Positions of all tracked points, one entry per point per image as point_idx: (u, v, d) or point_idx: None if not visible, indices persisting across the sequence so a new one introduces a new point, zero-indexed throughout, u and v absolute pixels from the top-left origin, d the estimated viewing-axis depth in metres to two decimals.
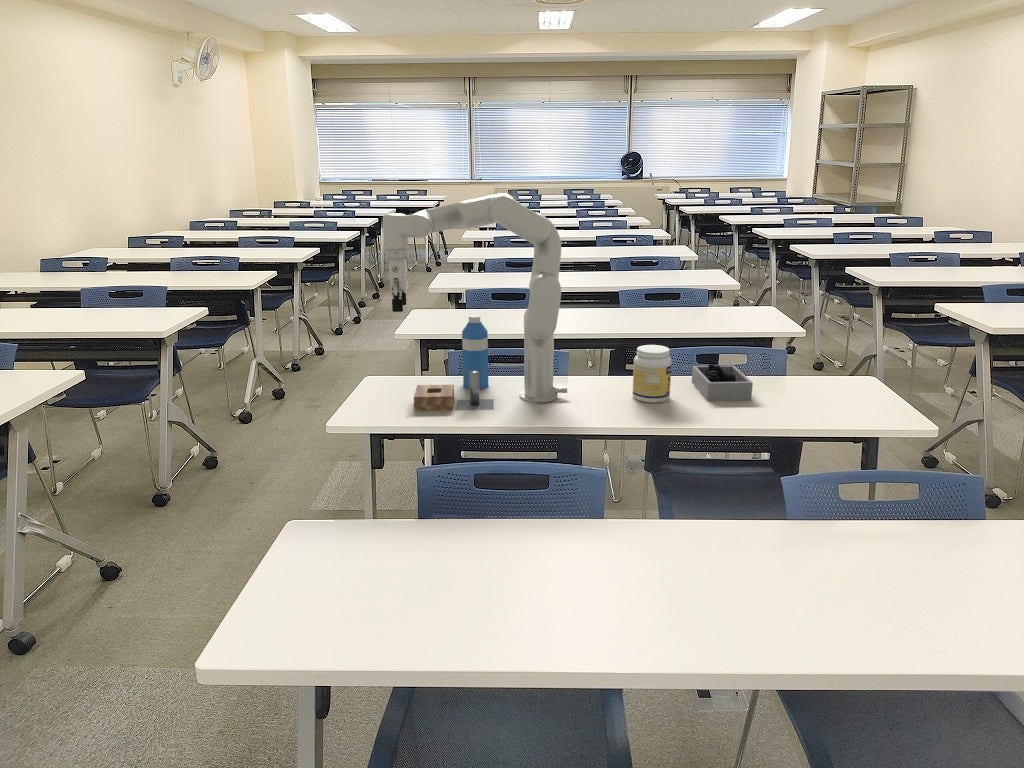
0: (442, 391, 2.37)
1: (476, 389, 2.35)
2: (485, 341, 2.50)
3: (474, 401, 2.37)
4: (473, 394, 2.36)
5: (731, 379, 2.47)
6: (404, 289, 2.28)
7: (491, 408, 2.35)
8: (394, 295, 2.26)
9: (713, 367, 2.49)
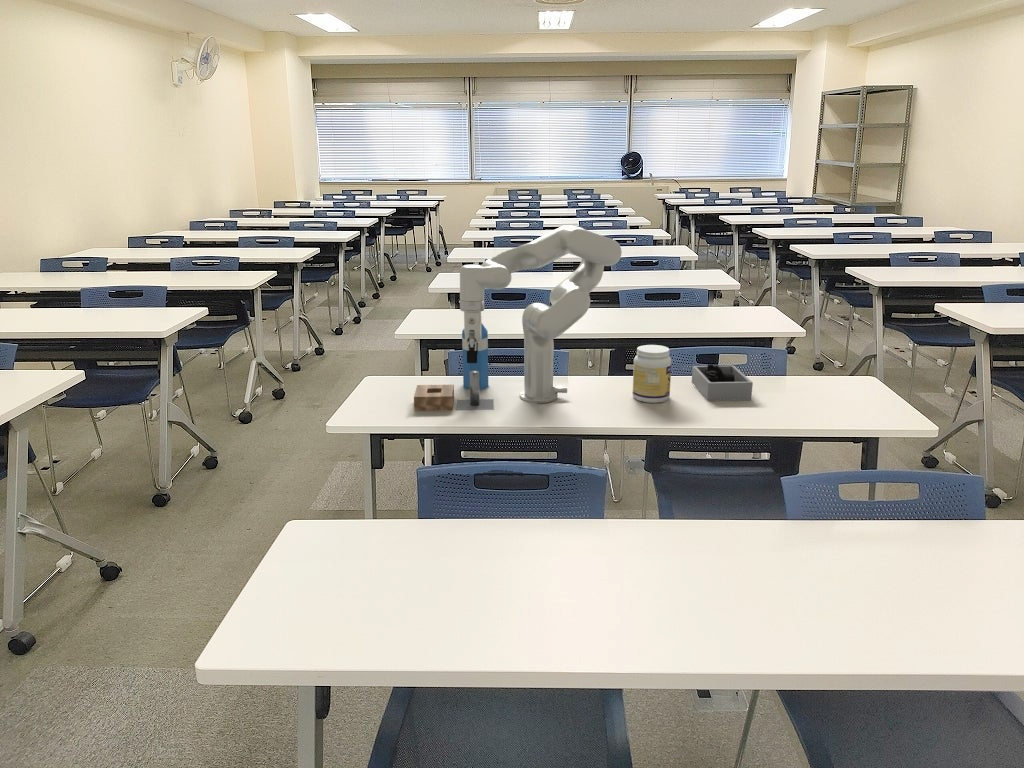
0: (442, 391, 2.37)
1: (476, 389, 2.35)
2: (485, 341, 2.50)
3: (474, 401, 2.37)
4: (473, 394, 2.36)
5: (730, 379, 2.47)
6: (480, 341, 2.27)
7: (491, 408, 2.35)
8: (470, 347, 2.25)
9: (712, 367, 2.49)
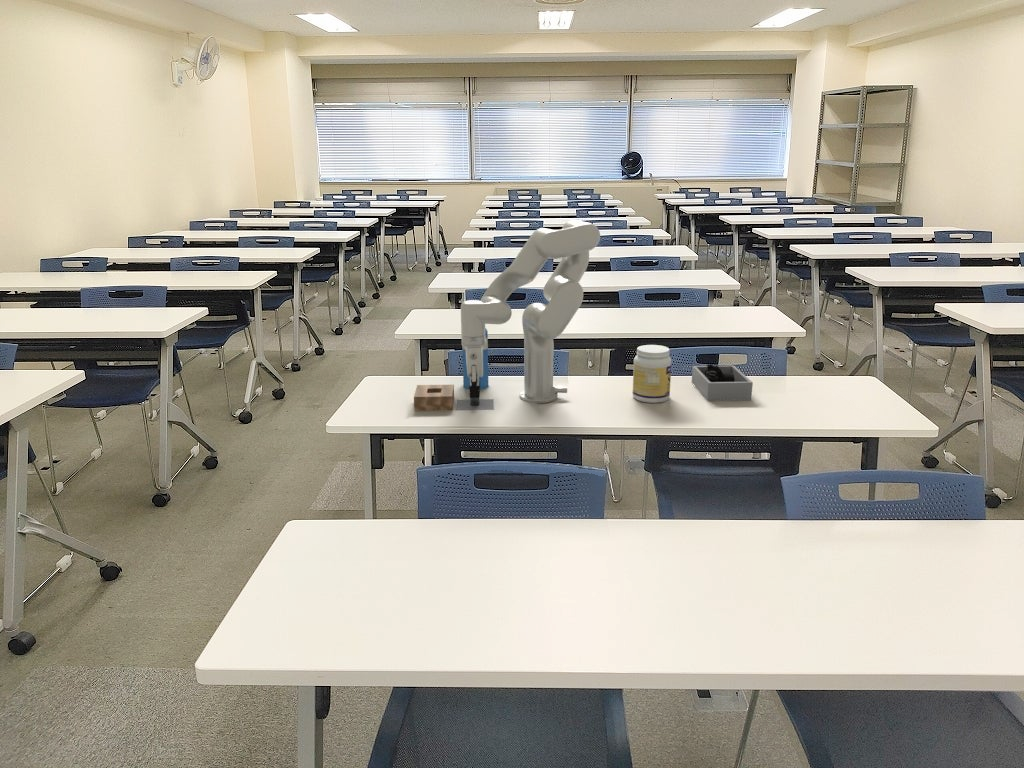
0: (442, 391, 2.37)
1: None
2: None
3: (474, 401, 2.37)
4: None
5: (730, 379, 2.47)
6: (481, 375, 2.31)
7: (491, 408, 2.35)
8: (472, 383, 2.32)
9: (712, 367, 2.49)
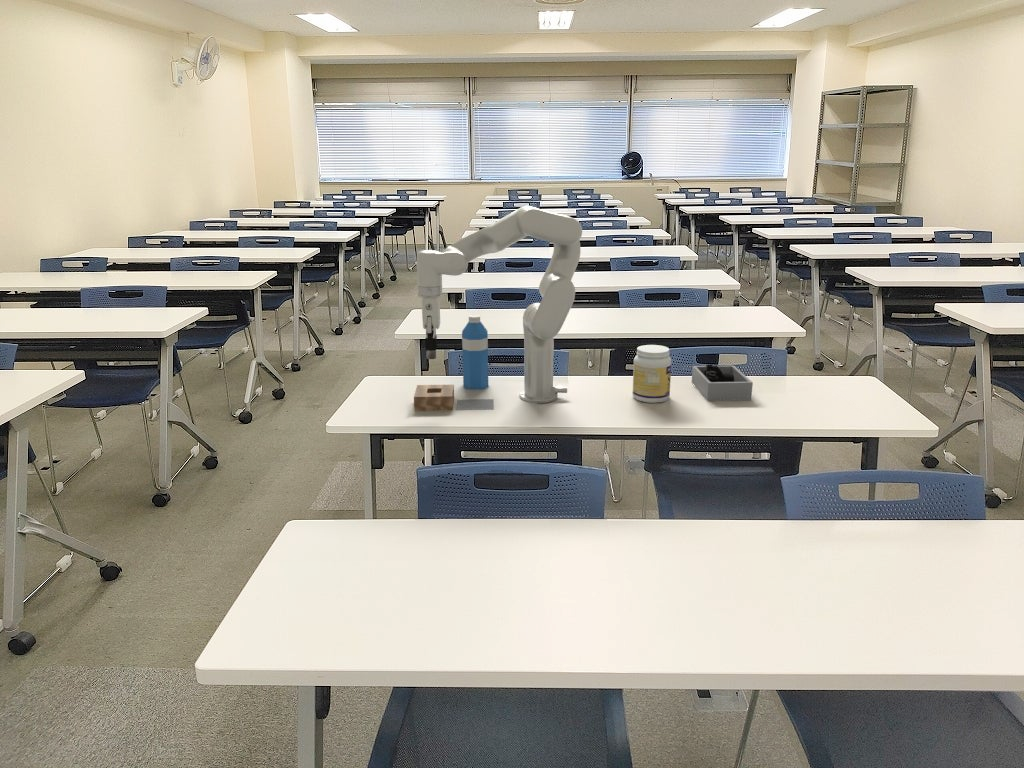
0: (442, 391, 2.37)
1: None
2: (485, 341, 2.50)
3: (430, 354, 2.32)
4: None
5: (730, 379, 2.47)
6: (437, 327, 2.26)
7: (491, 408, 2.35)
8: (428, 334, 2.27)
9: (711, 367, 2.48)
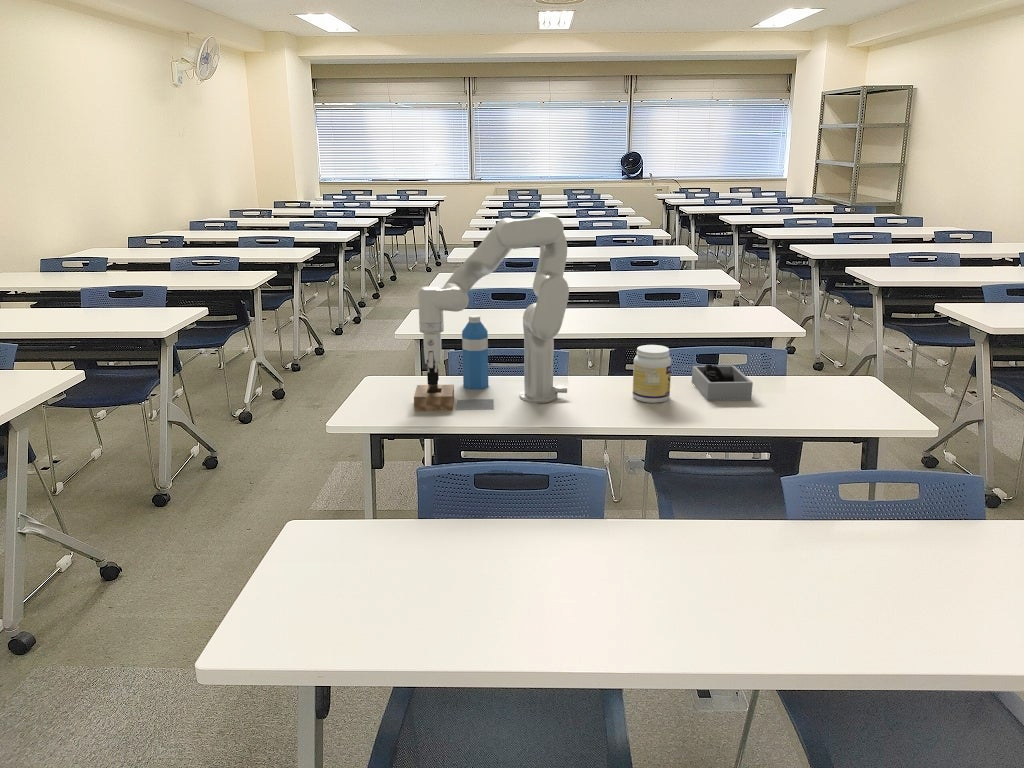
0: (442, 391, 2.37)
1: None
2: (485, 341, 2.50)
3: (432, 388, 2.36)
4: None
5: (729, 379, 2.47)
6: (439, 362, 2.30)
7: (491, 408, 2.35)
8: (430, 369, 2.31)
9: (711, 367, 2.48)
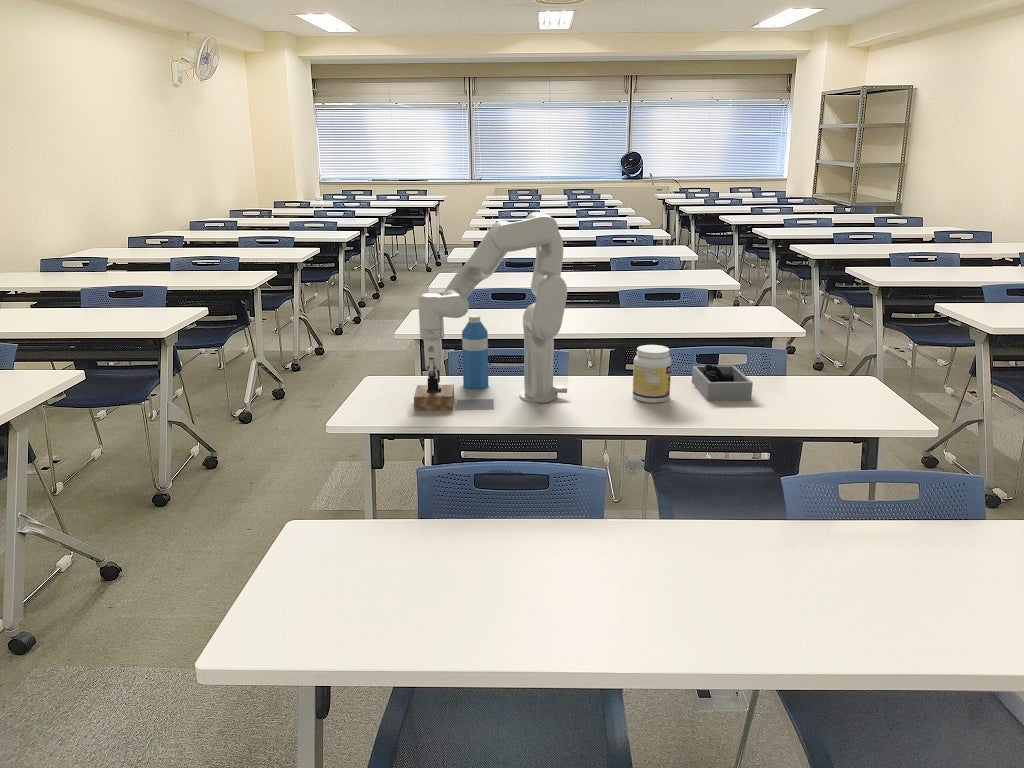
0: (442, 391, 2.37)
1: None
2: (485, 341, 2.50)
3: None
4: None
5: (729, 379, 2.47)
6: (440, 368, 2.31)
7: (491, 408, 2.35)
8: (430, 376, 2.29)
9: (711, 367, 2.48)
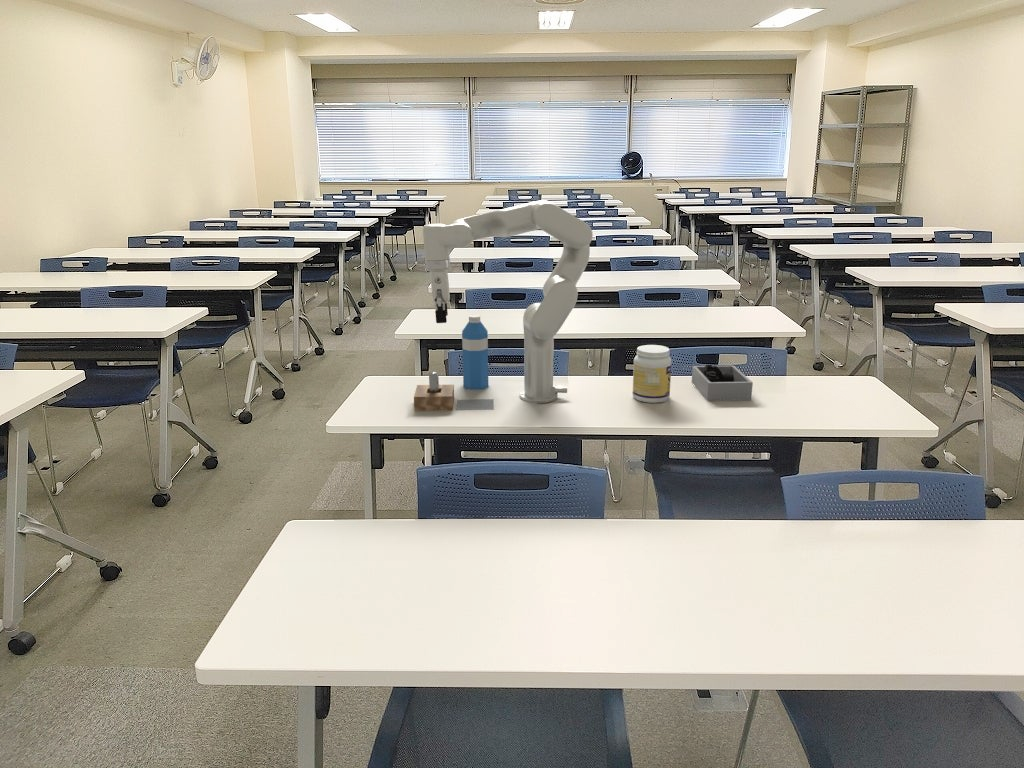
0: (442, 391, 2.37)
1: (435, 389, 2.36)
2: (485, 341, 2.50)
3: None
4: None
5: (729, 379, 2.47)
6: (447, 300, 2.26)
7: (491, 408, 2.35)
8: (438, 306, 2.24)
9: (711, 368, 2.48)
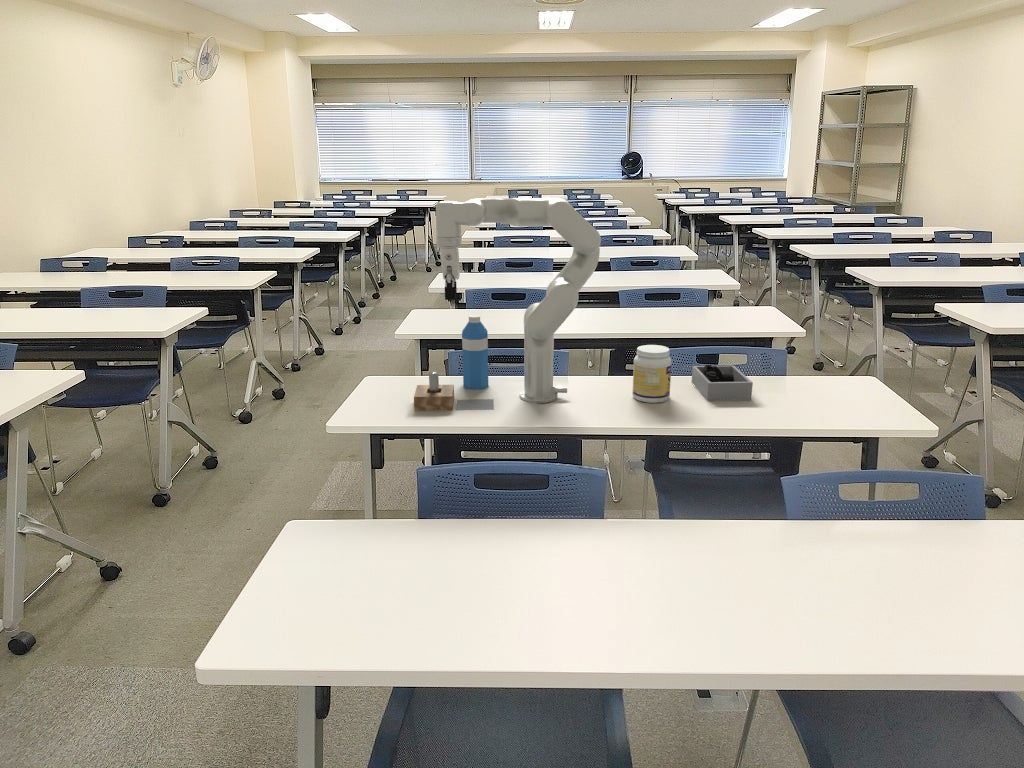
0: (442, 391, 2.37)
1: (435, 389, 2.36)
2: (485, 341, 2.50)
3: None
4: None
5: (729, 379, 2.47)
6: (457, 277, 2.28)
7: (491, 408, 2.35)
8: (447, 283, 2.26)
9: (711, 368, 2.48)
